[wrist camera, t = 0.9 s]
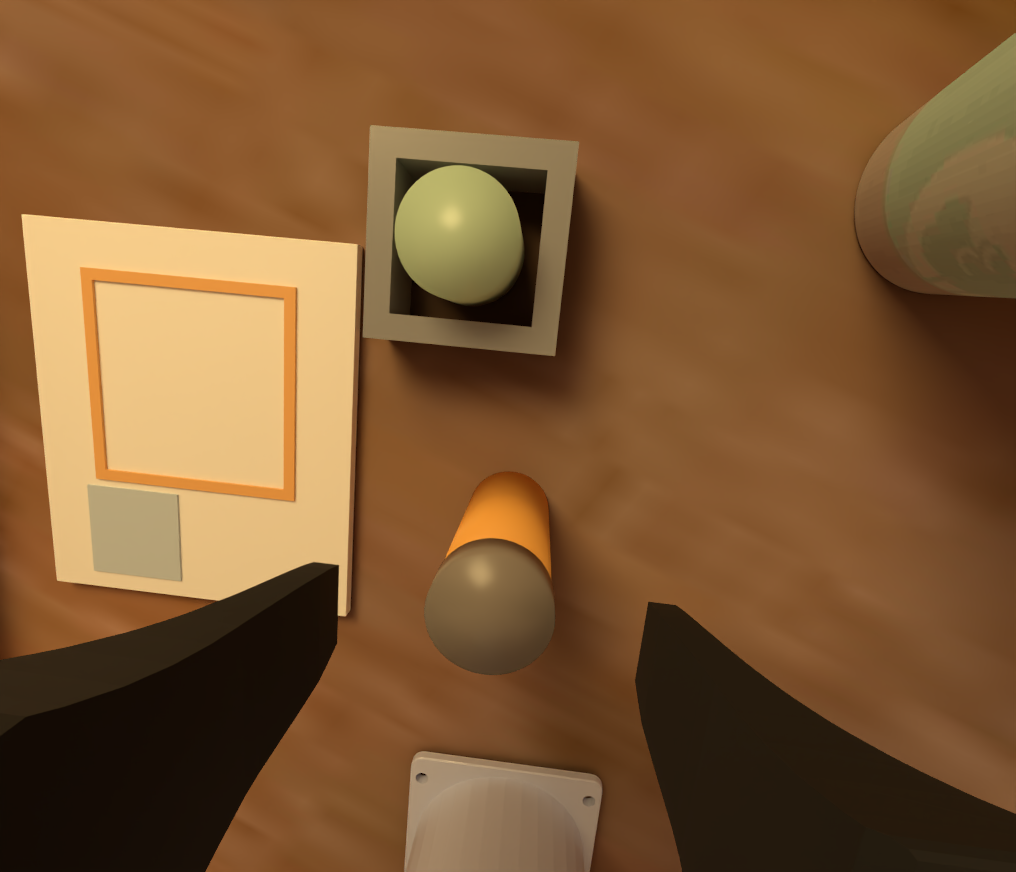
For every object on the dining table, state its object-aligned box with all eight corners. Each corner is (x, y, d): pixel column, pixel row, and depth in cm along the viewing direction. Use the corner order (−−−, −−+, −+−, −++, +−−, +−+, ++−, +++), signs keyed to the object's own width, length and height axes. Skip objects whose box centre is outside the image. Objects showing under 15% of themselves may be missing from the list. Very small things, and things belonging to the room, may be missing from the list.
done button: (519, 311, 17) (514, 305, 14) (417, 301, 17) (391, 294, 14) (529, 201, 16) (526, 170, 13) (424, 192, 16) (398, 160, 13)
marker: (545, 551, 19) (547, 682, 12) (465, 542, 19) (420, 666, 12) (554, 475, 19) (562, 563, 11) (472, 465, 19) (428, 547, 12)
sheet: (350, 609, 20) (344, 617, 20) (68, 574, 21) (54, 581, 20) (362, 246, 17) (356, 243, 17) (35, 217, 18) (18, 213, 17)
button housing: (553, 353, 18) (555, 356, 15) (386, 336, 18) (362, 337, 16) (573, 170, 17) (579, 141, 14) (394, 155, 17) (370, 125, 14)
